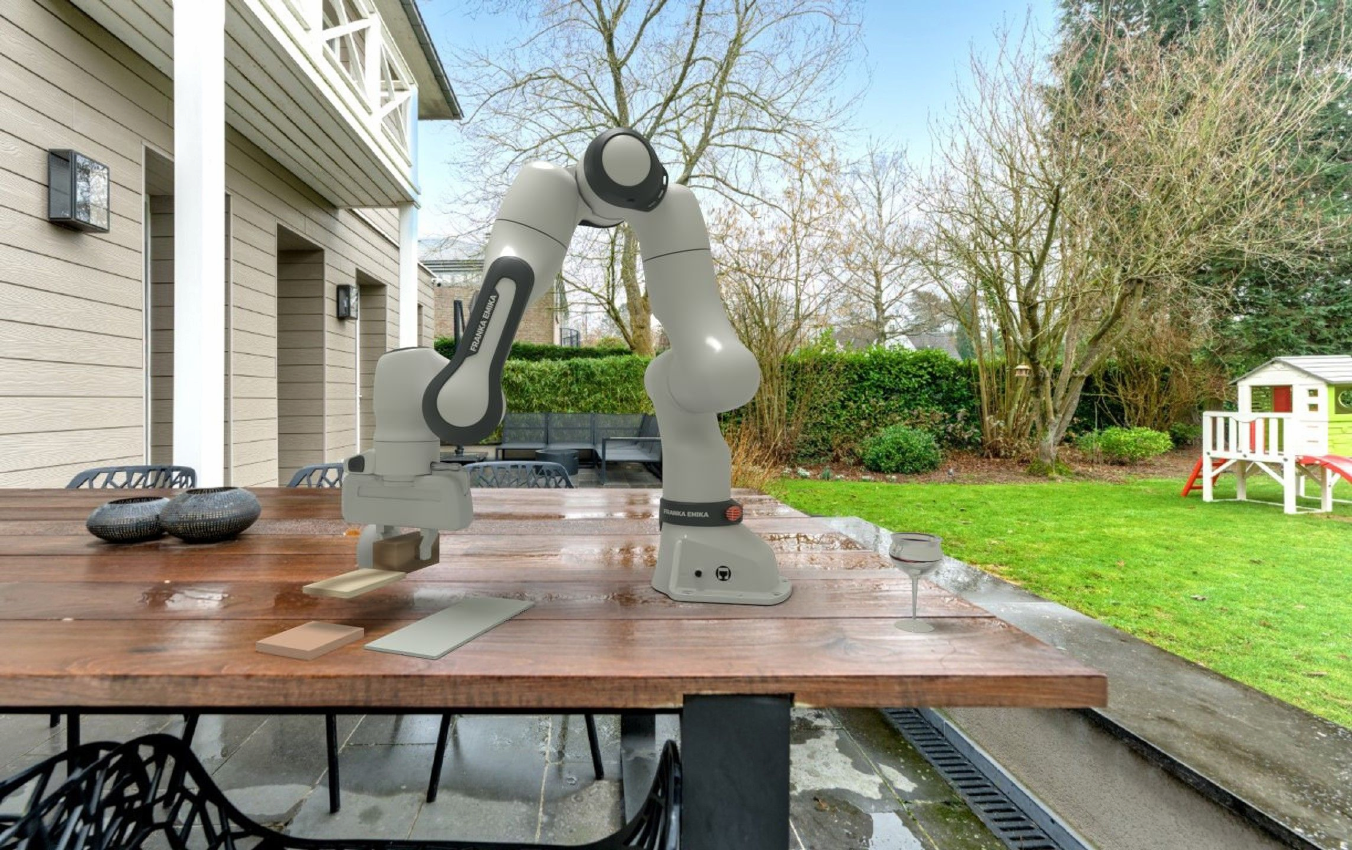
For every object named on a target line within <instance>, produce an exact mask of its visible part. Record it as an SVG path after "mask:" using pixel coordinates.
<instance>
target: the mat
mask: <svg viewBox="0 0 1352 850" xmlns="http://www.w3.org/2000/svg"><path fill="white" fill-rule="evenodd" d="M533 605H534V606H535V605H536V602H535V601H530V600H529V601H528V600H519V599H513V598H505V597H504V598H502V597H495V596H484V595H473V596H471V597H468V598H466V599H464V600H462V601H460V602H457V603H455V604H453V605H451V606H449V607H446V608H444V609H442V610H440V611H437V612H435V613H433V614H431V615H429V616H427V617H424V618H422V619H419V620H418V621H415V622H413V623H411V624H409V625H406V626H404V627H402V628H399V629H398V630H395V631H393V632H391V633H388V634H386V635H384V636H381V637H380V638H378V639H375V640H373V641H370V642H368V643H365V645H364V646H363V649H364V650H369V651H377V652H384V653H389V654H395V655H396V654H397V655H402V654H403V656H408V657H414V658H415V657H416V658H424V659H429V660H435V661H436V660H438V659H440V658H441V657H444V656H445V655H447V654H449V653H451V652H452V651H454V650H456V649H458V648H459V647H462V646H463V645H465V644H467V643H468V641H469V642H470V641H472V640H474V639H476V638H477V636H478V637H480V636H481V635H483V634H484V633H485V634H486V633H487V632H488V631H490V630H492V629H494V628H496V627H497V626H499V625H501V624H503V623H505V622H507V621H508V620H510V619H512V618H514V617H516V616H517V615H519V614H521V613H523V612H525V611H526V610H528V609H530V608H532V607H534V606H533ZM524 610H525V611H524ZM522 611H523V612H522ZM520 612H521V613H520ZM515 615H516V616H515ZM513 616H514V617H513ZM511 617H512V618H511ZM506 620H507V621H506ZM504 621H505V622H504ZM486 631H487V632H486ZM475 637H476V638H475ZM473 638H474V639H473ZM457 647H458V648H457Z"/></svg>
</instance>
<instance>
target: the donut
mask: <svg viewBox="0 0 1352 850" xmlns="http://www.w3.org/2000/svg"><path fill="white" fill-rule="evenodd" d="M391 532H392V535H393V537H395V536H399V535H403V533H402V530H401V527H398V526H394V530H392V531H391ZM376 541H380V539H379V537H378V535H377V533H376V525H373V524H367V526H365V528H364V529H363V530H362V532H361V533H360V535H359V537H358V541H357V545H356V549H355V550H356V553H355V557H356V563H357V566H358V568H359V569H362V568H368V569H373V542H376ZM359 569H358V570H359Z"/></svg>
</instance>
